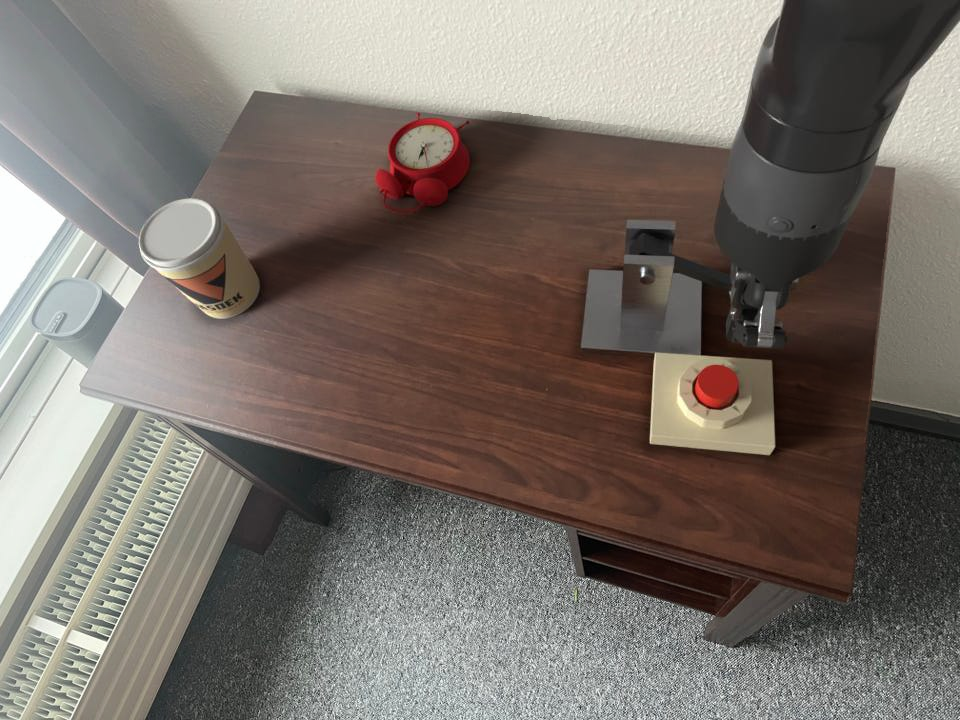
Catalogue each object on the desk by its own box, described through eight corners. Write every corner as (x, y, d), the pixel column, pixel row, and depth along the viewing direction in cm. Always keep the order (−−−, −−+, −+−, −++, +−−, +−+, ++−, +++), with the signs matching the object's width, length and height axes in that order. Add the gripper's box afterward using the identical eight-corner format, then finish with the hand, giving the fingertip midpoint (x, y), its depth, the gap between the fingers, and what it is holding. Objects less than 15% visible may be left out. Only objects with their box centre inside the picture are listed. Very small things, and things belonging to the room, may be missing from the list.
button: (734, 375, 64) (738, 365, 62) (735, 410, 62) (739, 401, 61) (695, 372, 65) (697, 362, 63) (694, 406, 63) (697, 397, 61)
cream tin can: (191, 332, 80) (131, 273, 70) (195, 269, 85) (140, 205, 75) (266, 316, 80) (217, 254, 70) (267, 254, 85) (221, 187, 74)
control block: (767, 370, 67) (776, 351, 64) (770, 455, 63) (780, 439, 60) (653, 362, 70) (656, 343, 66) (649, 444, 66) (652, 428, 62)
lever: (750, 289, 68) (774, 272, 65) (751, 318, 67) (775, 302, 64) (627, 244, 65) (646, 224, 62) (624, 273, 63) (644, 254, 60)
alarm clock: (480, 116, 85) (431, 183, 76) (483, 159, 90) (437, 228, 81) (406, 105, 88) (351, 169, 80) (413, 147, 93) (362, 212, 84)
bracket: (700, 280, 74) (719, 200, 62) (699, 361, 69) (719, 291, 58) (589, 275, 76) (588, 197, 65) (580, 352, 71) (578, 284, 60)
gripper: (873, 279, 36) (793, 412, 51) (851, 103, 42) (785, 268, 57) (724, 274, 37) (689, 404, 53) (723, 104, 43) (692, 265, 58)
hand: (739, 333), depth 55 cm, fingers closed
